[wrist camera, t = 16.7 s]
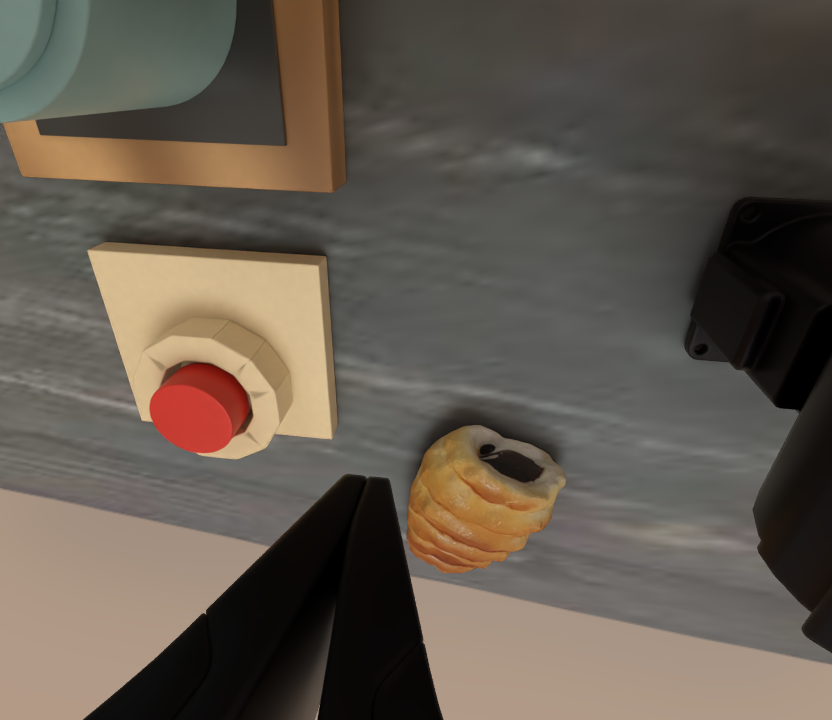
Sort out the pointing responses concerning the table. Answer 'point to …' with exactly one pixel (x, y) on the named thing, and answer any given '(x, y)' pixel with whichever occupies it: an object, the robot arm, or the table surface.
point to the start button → (199, 408)
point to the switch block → (226, 330)
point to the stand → (220, 116)
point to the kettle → (108, 54)
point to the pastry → (479, 499)
